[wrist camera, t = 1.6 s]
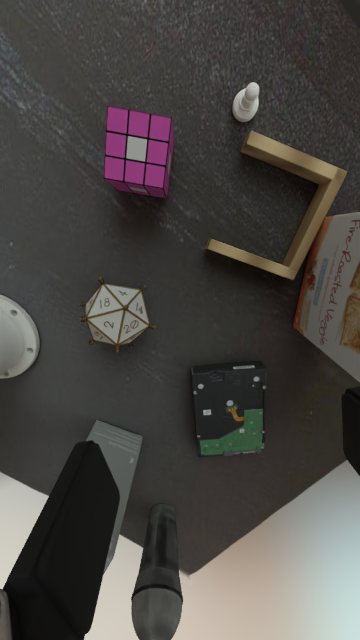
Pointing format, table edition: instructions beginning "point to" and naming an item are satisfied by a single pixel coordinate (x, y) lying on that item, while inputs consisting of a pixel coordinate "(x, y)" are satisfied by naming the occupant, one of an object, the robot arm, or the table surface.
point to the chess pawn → (246, 103)
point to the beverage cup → (158, 579)
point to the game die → (116, 314)
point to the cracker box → (333, 292)
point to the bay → (317, 209)
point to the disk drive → (229, 408)
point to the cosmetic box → (117, 466)
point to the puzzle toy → (138, 151)
